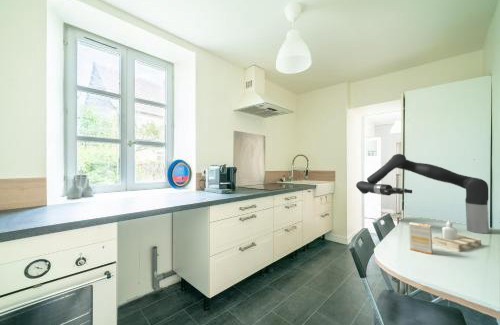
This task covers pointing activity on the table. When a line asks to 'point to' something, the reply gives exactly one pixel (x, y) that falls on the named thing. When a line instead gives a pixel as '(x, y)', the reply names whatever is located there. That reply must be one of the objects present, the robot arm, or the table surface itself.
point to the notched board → (457, 242)
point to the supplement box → (420, 237)
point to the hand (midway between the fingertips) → (407, 192)
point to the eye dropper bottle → (449, 232)
